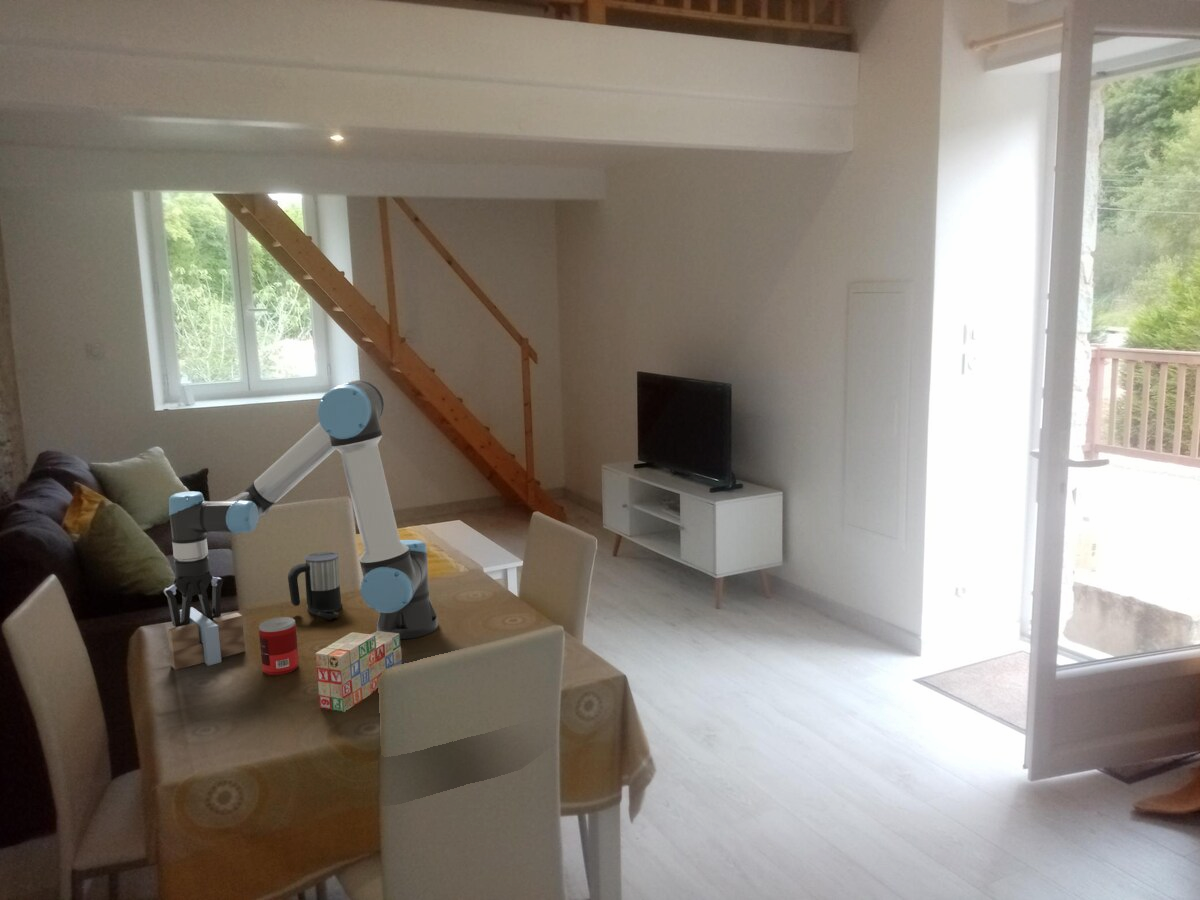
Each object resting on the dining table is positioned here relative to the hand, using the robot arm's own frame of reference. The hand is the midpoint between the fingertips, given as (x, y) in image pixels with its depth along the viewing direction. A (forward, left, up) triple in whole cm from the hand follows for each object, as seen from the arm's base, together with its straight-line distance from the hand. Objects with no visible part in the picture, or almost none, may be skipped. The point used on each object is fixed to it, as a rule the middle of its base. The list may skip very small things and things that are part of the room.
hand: (199, 650), depth 218 cm
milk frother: (+5, -34, -1) cm, 35 cm away
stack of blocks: (-48, -19, -1) cm, 51 cm away
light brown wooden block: (-6, 0, 0) cm, 6 cm away
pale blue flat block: (-1, 0, 0) cm, 1 cm away
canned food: (-24, -10, 0) cm, 26 cm away
